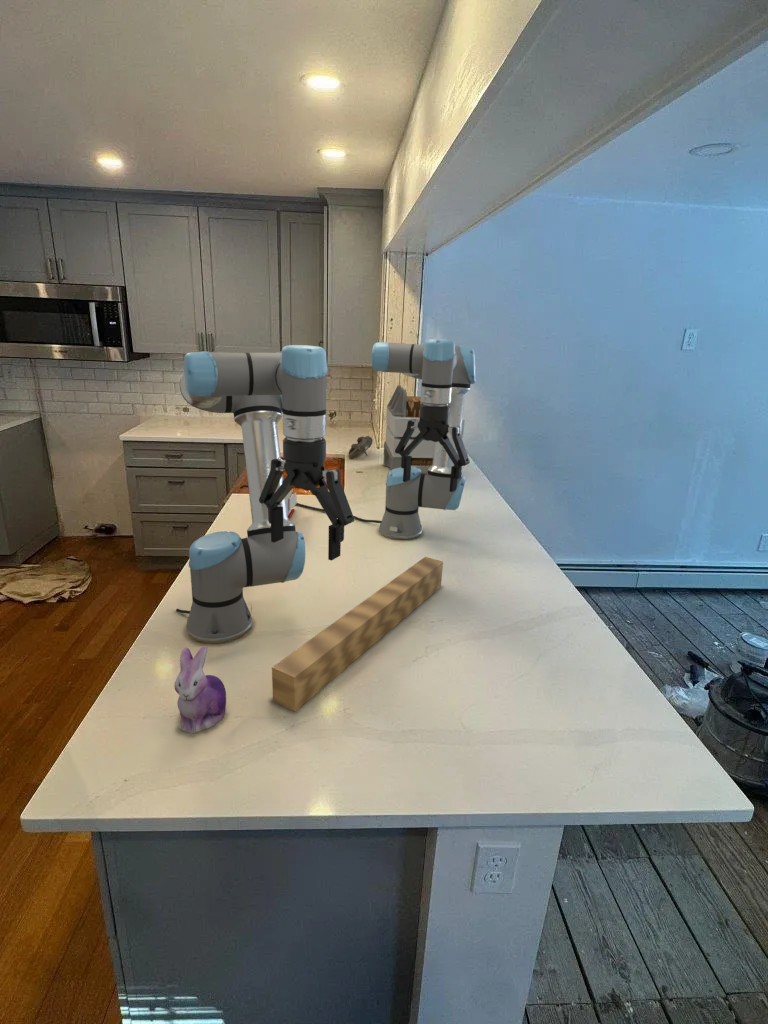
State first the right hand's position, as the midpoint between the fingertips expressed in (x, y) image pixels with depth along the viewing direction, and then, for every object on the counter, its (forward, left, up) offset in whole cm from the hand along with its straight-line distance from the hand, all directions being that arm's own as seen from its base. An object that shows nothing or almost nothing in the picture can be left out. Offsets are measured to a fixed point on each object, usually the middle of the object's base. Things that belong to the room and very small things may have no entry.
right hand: (429, 485), depth 148 cm
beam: (+8, -24, -31) cm, 41 cm away
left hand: (+16, -49, 0) cm, 51 cm away
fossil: (-131, +82, -32) cm, 158 cm away
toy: (-71, -4, -32) cm, 78 cm away
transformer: (-89, +86, -32) cm, 128 cm away
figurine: (+12, -69, -32) cm, 77 cm away
